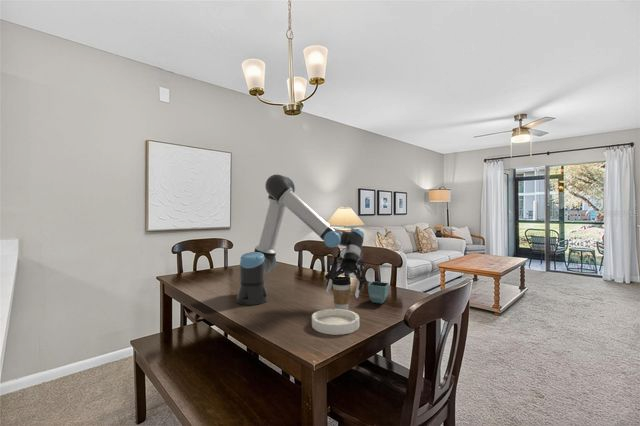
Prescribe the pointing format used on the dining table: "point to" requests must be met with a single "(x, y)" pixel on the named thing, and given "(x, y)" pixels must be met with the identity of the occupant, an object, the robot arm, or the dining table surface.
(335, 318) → the serving bowl
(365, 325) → the dining table surface
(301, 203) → the robot arm
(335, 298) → the coffee cup
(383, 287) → the flower pot
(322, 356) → the dining table surface
